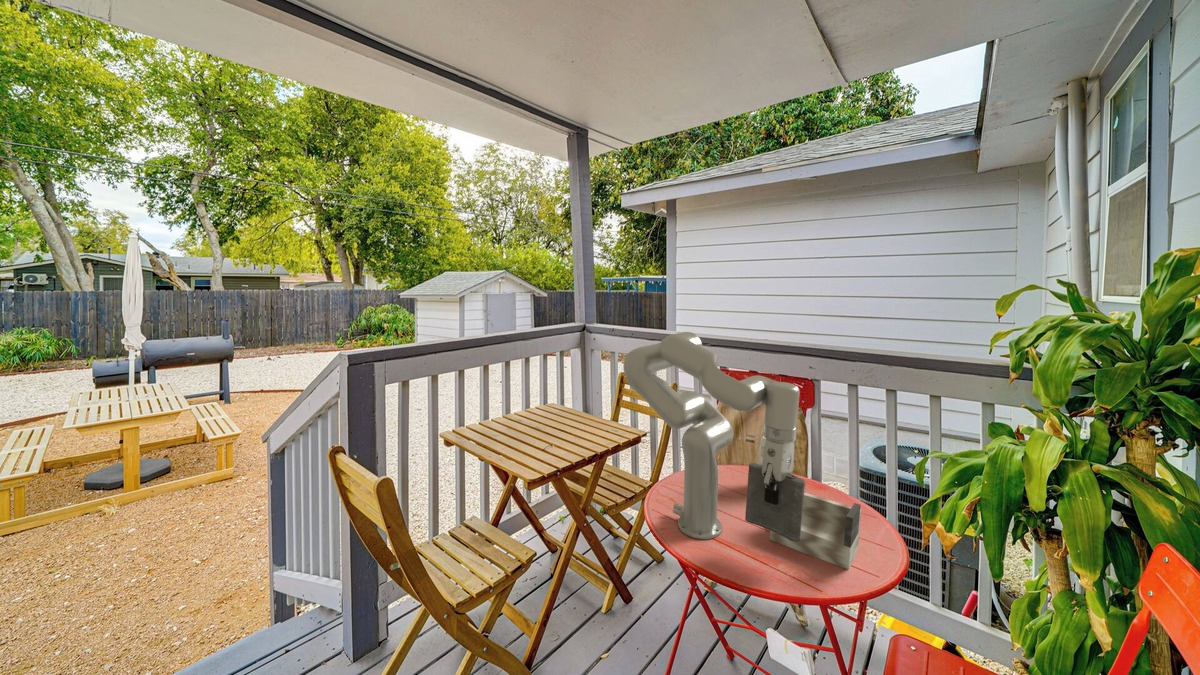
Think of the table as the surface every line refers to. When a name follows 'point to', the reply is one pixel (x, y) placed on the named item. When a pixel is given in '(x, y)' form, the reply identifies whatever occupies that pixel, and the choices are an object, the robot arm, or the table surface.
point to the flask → (771, 516)
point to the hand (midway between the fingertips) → (774, 498)
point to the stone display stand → (827, 531)
